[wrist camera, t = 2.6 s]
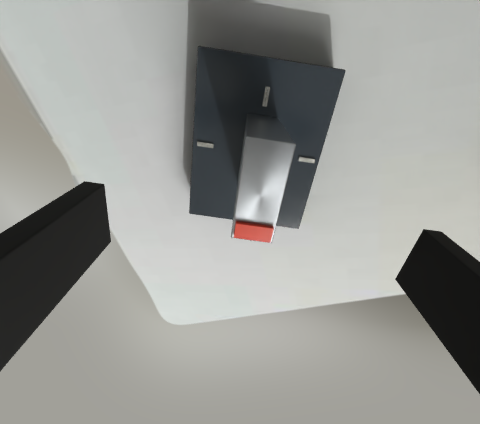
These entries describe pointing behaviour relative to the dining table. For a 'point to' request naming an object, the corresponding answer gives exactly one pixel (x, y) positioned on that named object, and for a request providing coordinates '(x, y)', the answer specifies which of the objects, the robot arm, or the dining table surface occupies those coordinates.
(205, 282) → the dining table surface
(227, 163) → the panel
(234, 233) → the tap handle
